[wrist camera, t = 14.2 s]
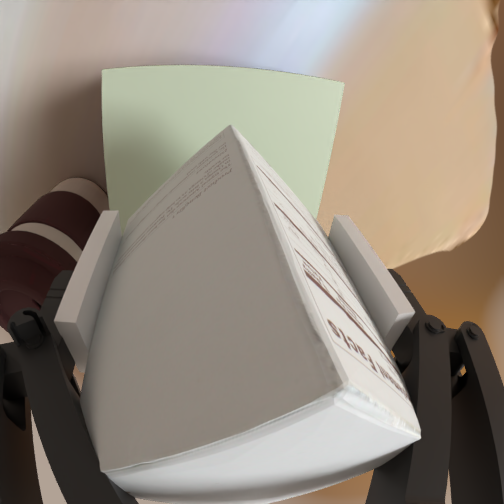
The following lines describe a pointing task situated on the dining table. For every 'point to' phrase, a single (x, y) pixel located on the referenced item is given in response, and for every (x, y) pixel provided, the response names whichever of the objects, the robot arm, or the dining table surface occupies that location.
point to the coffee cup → (46, 243)
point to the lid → (213, 125)
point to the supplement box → (236, 346)
